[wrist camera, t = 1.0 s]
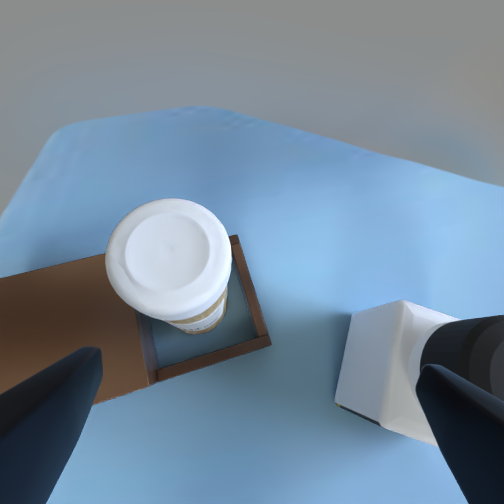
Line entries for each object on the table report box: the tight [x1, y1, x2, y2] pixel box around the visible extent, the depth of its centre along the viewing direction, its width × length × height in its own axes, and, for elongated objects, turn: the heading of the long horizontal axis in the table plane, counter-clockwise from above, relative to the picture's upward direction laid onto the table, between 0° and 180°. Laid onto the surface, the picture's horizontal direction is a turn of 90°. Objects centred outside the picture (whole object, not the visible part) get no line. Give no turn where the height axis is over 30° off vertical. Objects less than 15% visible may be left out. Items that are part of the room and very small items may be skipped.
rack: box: [0, 235, 272, 405], centre depth 20 cm, size 9×17×4 cm, turn 107°
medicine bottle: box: [334, 300, 504, 447], centre depth 17 cm, size 7×7×12 cm
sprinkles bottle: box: [105, 198, 232, 334], centre depth 17 cm, size 5×5×13 cm
